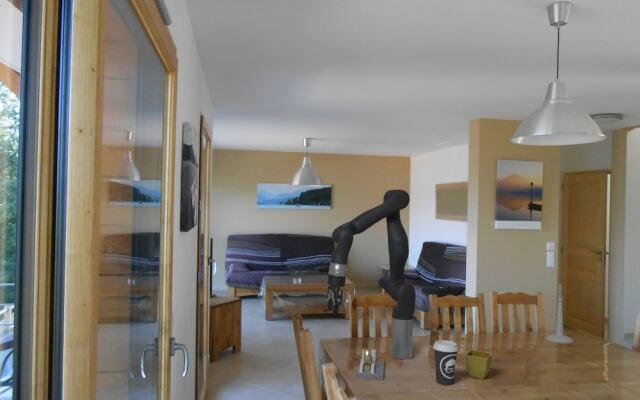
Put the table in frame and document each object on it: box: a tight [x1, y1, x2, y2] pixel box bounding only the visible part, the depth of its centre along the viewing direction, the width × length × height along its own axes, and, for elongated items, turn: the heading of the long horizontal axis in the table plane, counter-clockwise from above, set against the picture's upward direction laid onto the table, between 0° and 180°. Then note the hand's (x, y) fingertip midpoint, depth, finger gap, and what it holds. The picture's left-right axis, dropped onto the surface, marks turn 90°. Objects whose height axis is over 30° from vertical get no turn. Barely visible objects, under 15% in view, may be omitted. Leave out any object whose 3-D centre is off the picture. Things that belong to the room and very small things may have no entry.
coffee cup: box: [432, 339, 460, 386], centre depth 184 cm, size 10×10×15 cm
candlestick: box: [545, 283, 574, 344], centre depth 253 cm, size 13×13×30 cm
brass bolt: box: [363, 347, 372, 371], centre depth 194 cm, size 3×8×8 cm, turn 171°
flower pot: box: [464, 349, 493, 380], centre depth 192 cm, size 9×9×9 cm
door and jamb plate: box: [356, 348, 385, 380], centre depth 196 cm, size 10×21×6 cm, turn 171°
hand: (332, 312), depth 202 cm, fingers open, 8 cm apart
